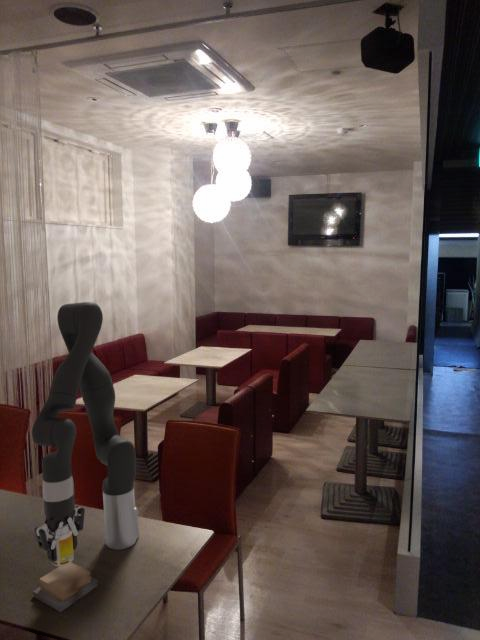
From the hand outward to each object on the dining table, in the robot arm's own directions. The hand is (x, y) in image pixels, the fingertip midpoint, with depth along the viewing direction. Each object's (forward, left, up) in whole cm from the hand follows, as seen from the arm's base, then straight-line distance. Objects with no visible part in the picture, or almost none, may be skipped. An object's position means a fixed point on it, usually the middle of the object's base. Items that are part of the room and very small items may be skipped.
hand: (62, 554), depth 133 cm
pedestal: (0, 0, -10) cm, 10 cm away
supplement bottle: (0, 0, -2) cm, 2 cm away
